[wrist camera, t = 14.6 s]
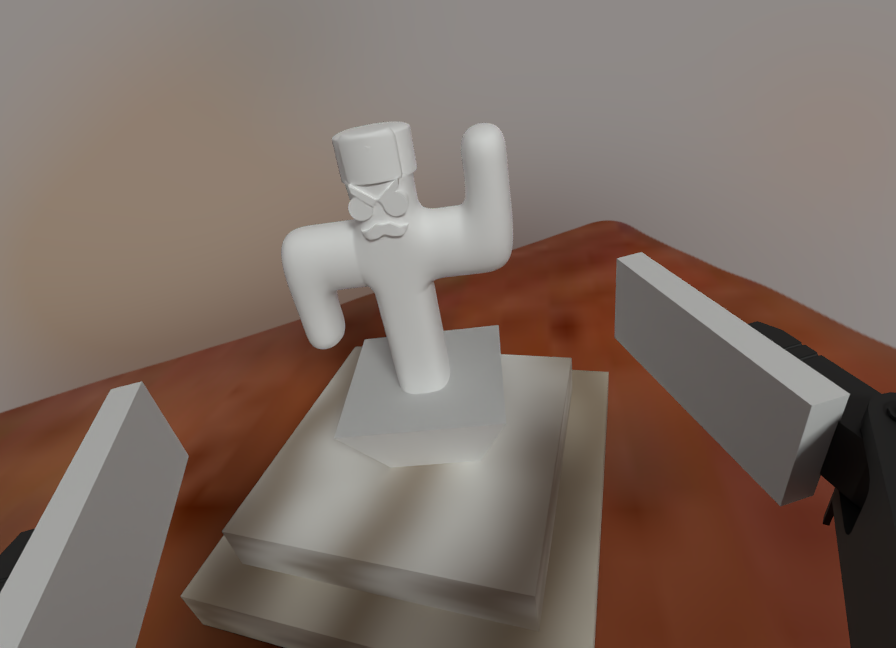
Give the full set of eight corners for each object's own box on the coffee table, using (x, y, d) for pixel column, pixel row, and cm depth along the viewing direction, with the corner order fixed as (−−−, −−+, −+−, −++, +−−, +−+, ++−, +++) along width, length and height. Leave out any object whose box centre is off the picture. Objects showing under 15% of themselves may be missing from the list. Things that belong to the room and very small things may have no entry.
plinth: (202, 624, 24) (154, 564, 22) (360, 382, 38) (342, 328, 36) (589, 734, 18) (589, 672, 16) (607, 402, 33) (609, 339, 30)
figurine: (361, 392, 29) (274, 123, 21) (524, 377, 28) (497, 87, 20) (332, 496, 23) (195, 174, 15) (539, 482, 22) (508, 126, 14)
